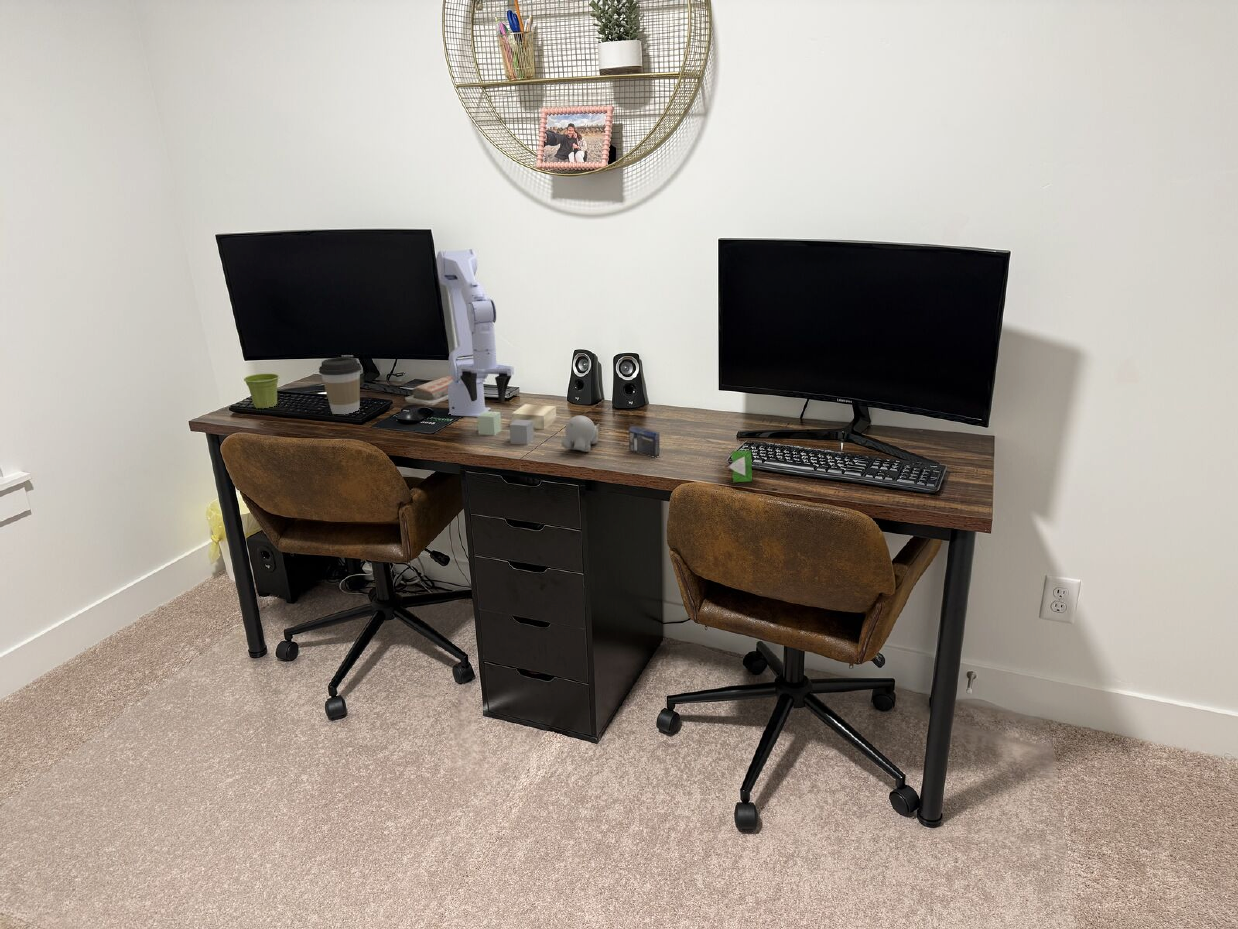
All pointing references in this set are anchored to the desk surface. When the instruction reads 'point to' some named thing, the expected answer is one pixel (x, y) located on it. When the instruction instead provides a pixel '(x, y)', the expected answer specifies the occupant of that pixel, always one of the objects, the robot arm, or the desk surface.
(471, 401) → the robot arm
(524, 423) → the grey cube
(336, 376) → the coffee cup
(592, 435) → the round bodied animal figurine
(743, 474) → the geometric puzzle
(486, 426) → the sage cube
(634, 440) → the mini dv tape
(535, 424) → the birch block
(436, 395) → the packaged product
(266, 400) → the plant pot
